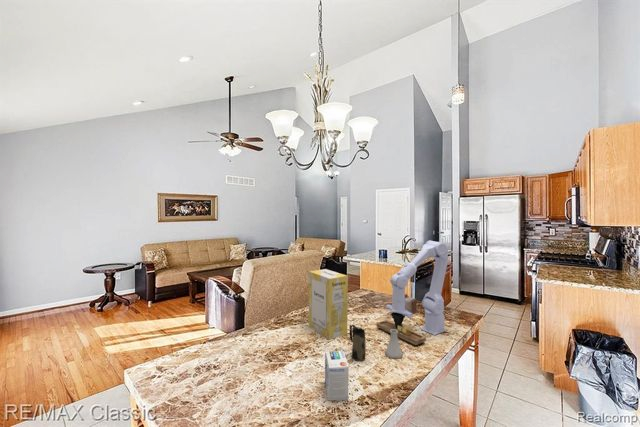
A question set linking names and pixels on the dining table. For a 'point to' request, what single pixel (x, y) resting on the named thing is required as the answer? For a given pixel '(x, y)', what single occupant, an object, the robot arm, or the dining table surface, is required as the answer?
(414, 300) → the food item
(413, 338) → the brown rectangular tray
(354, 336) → the mug
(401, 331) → the yellow block
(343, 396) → the light bulb box
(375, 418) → the dining table surface
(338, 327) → the pasta box
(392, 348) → the flask
